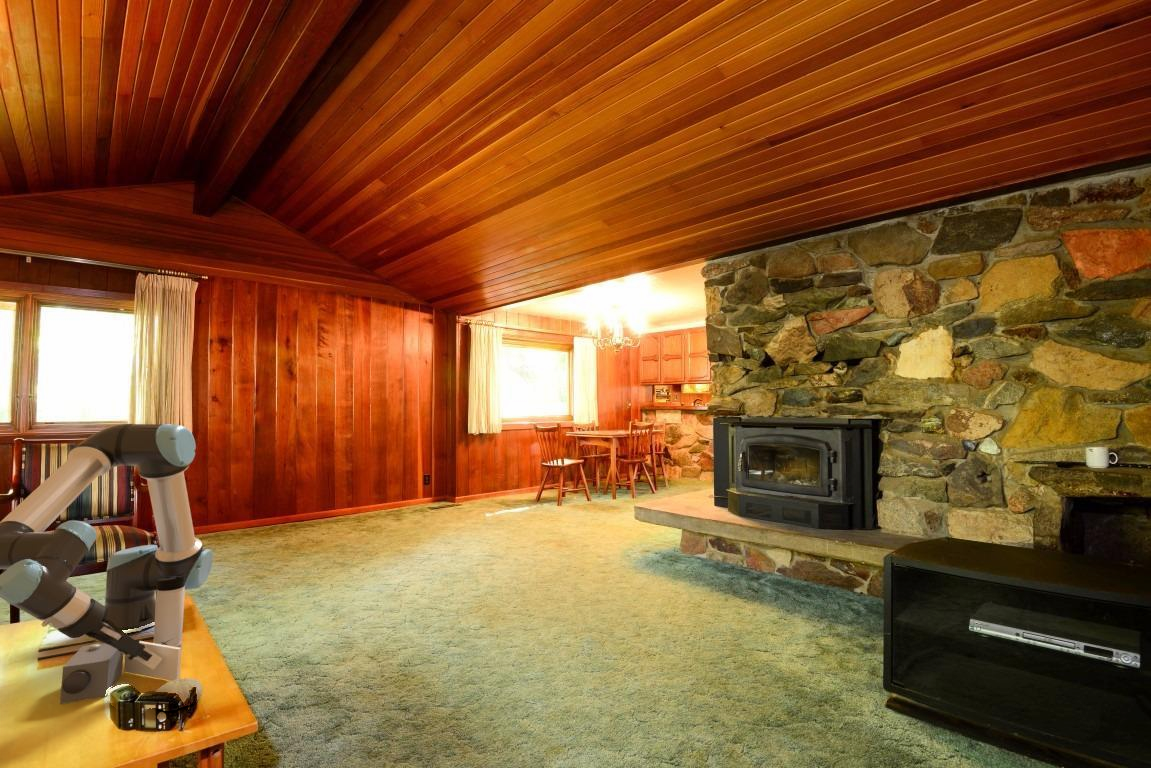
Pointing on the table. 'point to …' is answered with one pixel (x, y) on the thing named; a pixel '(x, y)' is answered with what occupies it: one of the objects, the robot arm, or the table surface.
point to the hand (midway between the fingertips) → (156, 663)
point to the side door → (165, 668)
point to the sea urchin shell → (182, 687)
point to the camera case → (91, 672)
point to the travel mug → (169, 611)
